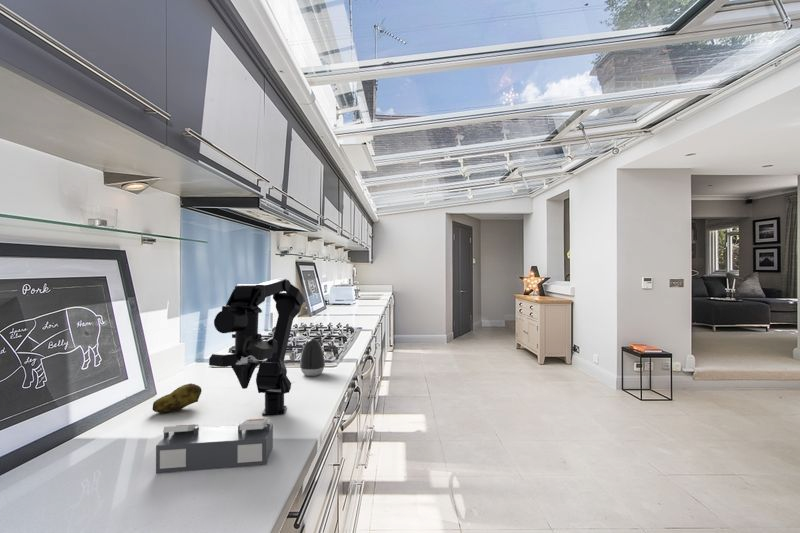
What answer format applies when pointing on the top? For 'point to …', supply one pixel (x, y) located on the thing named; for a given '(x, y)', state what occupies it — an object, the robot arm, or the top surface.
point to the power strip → (214, 448)
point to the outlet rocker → (179, 428)
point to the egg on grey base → (312, 358)
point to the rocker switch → (253, 424)
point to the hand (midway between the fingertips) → (244, 388)
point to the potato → (178, 398)
